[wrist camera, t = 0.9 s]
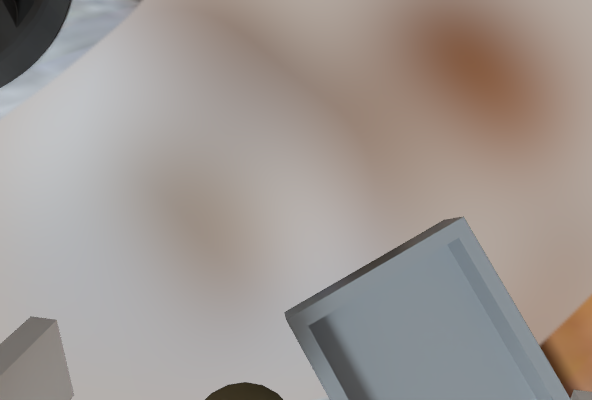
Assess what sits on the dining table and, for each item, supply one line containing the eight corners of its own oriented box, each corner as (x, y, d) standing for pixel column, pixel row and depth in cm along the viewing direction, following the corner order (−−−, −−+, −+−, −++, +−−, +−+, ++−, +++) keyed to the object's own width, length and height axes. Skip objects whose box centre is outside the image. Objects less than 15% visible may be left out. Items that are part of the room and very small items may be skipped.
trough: (284, 312, 25) (286, 319, 22) (444, 219, 26) (463, 216, 23) (426, 572, 24) (446, 612, 21) (586, 464, 25) (623, 489, 22)
